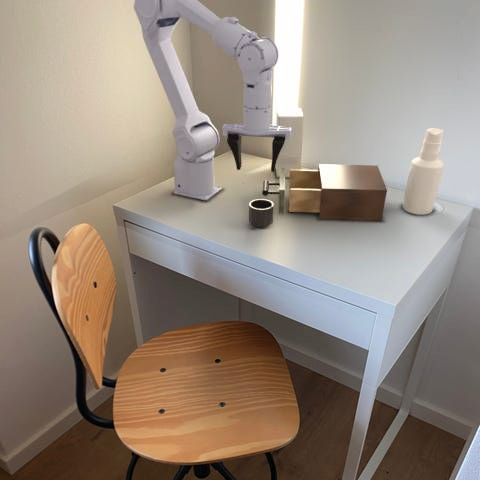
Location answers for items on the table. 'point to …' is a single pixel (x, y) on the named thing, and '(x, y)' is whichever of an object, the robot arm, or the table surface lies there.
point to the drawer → (298, 190)
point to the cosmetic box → (292, 147)
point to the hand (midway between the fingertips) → (256, 169)
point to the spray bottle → (425, 175)
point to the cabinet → (351, 192)
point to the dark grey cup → (261, 213)
